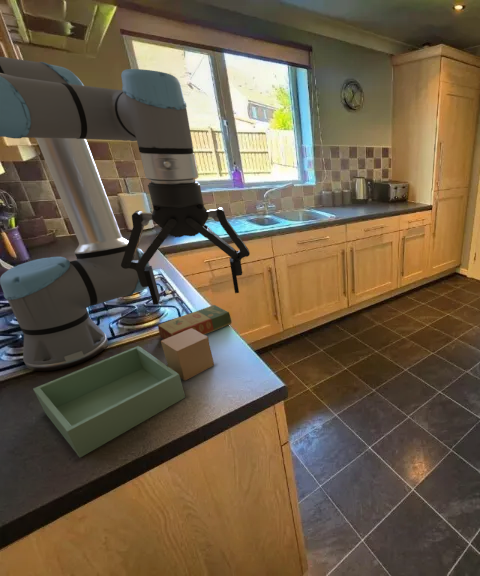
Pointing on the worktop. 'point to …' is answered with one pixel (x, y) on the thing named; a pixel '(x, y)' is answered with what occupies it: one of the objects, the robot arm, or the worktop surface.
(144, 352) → the basket
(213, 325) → the carton
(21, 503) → the worktop surface
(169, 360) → the box
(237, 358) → the worktop surface
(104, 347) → the robot arm
